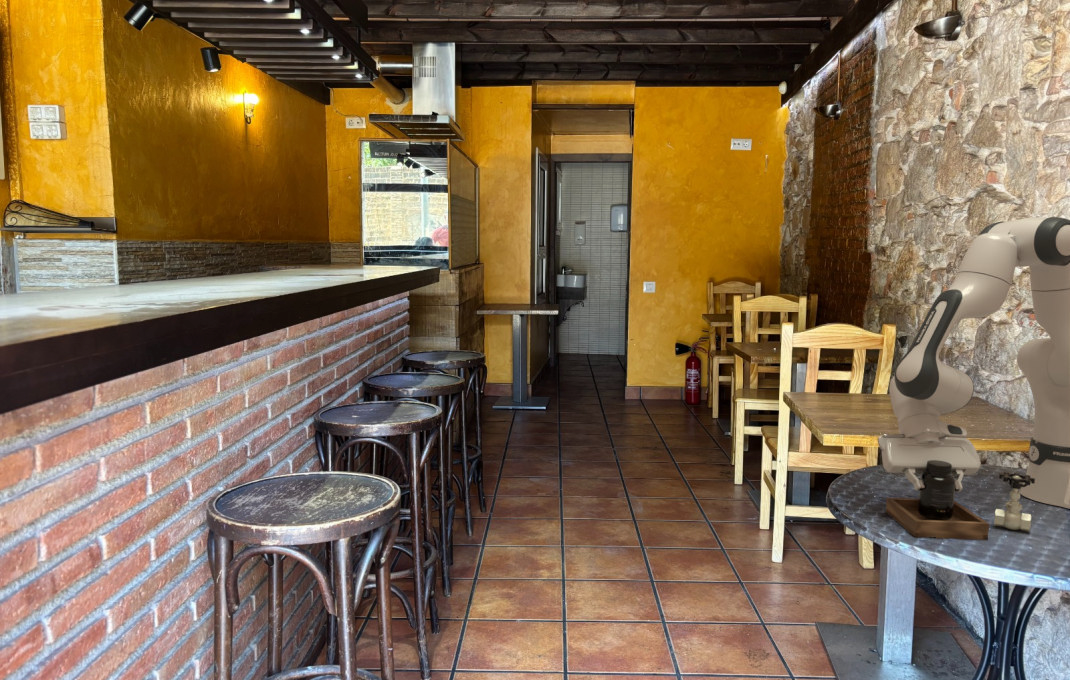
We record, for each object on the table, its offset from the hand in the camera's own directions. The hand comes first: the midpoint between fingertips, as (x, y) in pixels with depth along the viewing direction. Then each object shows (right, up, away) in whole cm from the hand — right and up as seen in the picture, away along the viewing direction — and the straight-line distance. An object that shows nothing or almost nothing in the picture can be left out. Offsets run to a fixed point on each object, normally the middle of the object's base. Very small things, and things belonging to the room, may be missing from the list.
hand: (939, 490), depth 166 cm
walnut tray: (0, -8, +2) cm, 8 cm away
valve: (+16, -9, 0) cm, 18 cm away
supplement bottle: (0, -6, +2) cm, 7 cm away
